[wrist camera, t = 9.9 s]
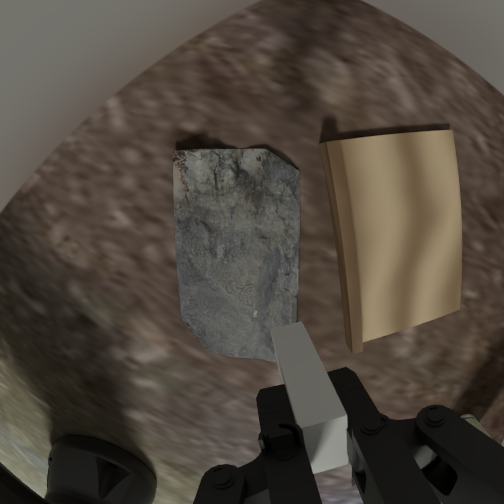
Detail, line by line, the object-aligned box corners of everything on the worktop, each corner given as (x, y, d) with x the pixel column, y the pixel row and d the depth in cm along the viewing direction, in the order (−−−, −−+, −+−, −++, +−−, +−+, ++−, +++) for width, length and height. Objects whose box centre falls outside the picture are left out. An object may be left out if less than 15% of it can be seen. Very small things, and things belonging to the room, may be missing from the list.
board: (346, 343, 29) (352, 354, 27) (319, 143, 24) (326, 141, 22) (456, 307, 29) (466, 315, 27) (448, 130, 24) (461, 129, 22)
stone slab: (302, 361, 27) (188, 372, 26) (297, 351, 29) (189, 361, 28) (301, 144, 23) (165, 150, 22) (295, 146, 25) (168, 152, 24)
